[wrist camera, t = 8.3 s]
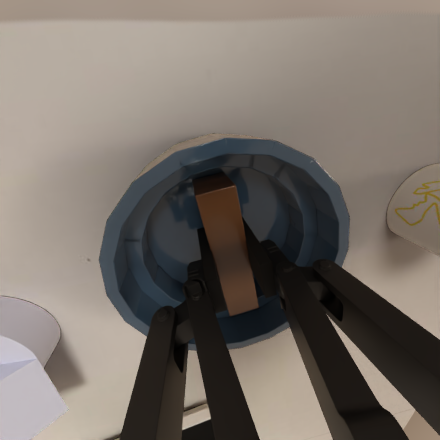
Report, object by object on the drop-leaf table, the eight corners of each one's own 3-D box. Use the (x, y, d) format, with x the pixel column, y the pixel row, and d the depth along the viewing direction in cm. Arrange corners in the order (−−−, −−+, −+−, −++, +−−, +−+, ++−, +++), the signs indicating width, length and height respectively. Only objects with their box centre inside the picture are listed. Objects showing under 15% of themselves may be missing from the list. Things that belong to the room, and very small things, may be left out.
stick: (191, 179, 16) (194, 195, 12) (223, 171, 16) (236, 184, 13) (221, 284, 21) (229, 316, 17) (245, 276, 21) (259, 308, 17)
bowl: (204, 80, 14) (219, 53, 9) (335, 210, 21) (390, 240, 15) (88, 251, 18) (48, 305, 13) (229, 316, 24) (243, 370, 19)
